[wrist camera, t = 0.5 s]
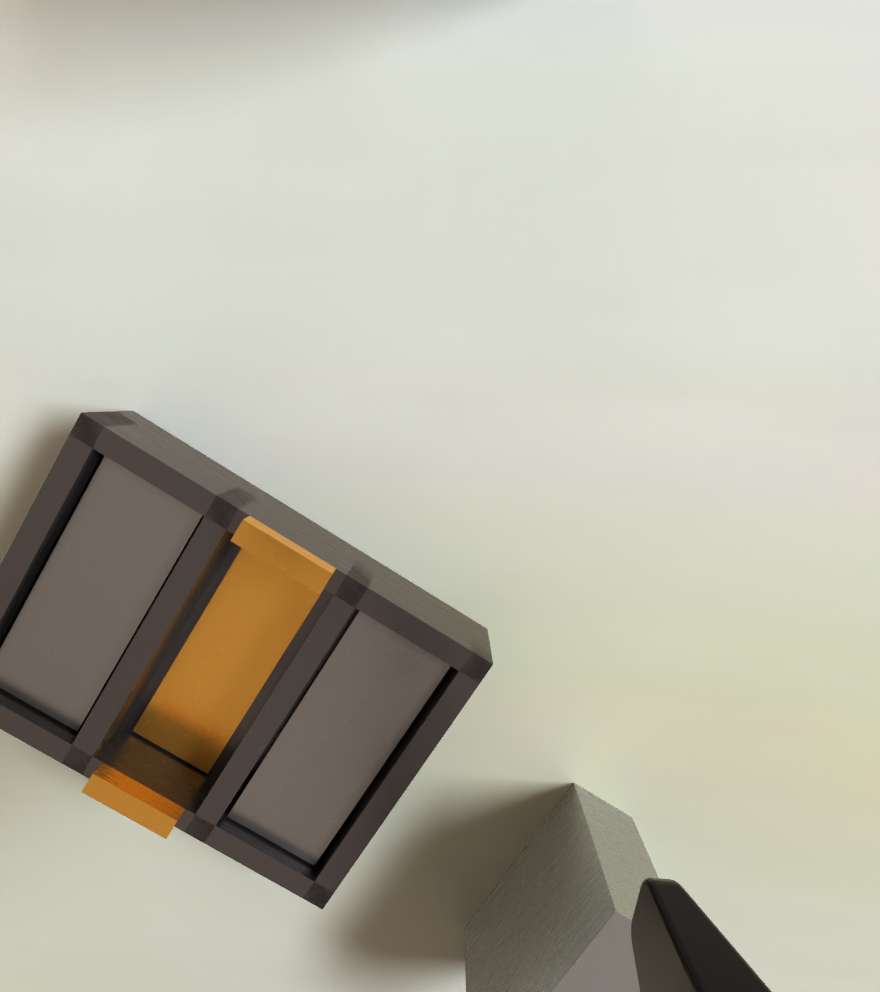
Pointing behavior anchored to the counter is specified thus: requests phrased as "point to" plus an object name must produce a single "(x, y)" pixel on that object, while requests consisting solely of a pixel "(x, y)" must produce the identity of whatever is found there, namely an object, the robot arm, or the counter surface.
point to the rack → (221, 656)
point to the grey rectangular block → (563, 906)
